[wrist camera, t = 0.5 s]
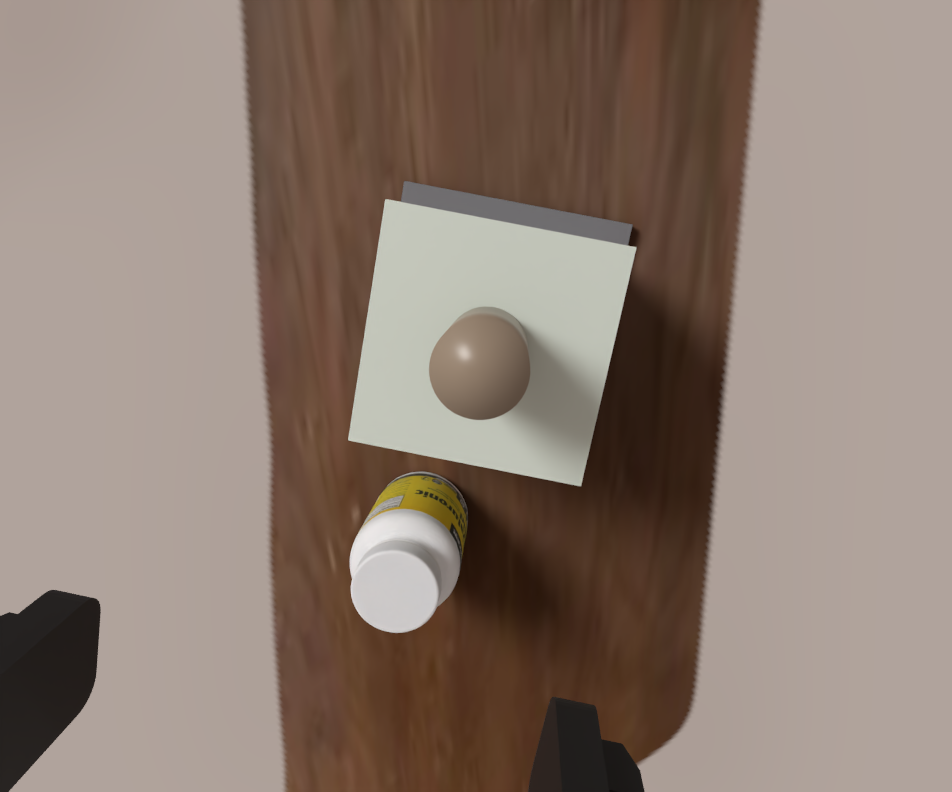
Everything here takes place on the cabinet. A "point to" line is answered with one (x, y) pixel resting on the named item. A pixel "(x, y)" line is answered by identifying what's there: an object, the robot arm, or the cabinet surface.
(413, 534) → the supplement bottle
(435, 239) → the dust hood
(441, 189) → the mat
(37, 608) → the robot arm
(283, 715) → the cabinet surface
